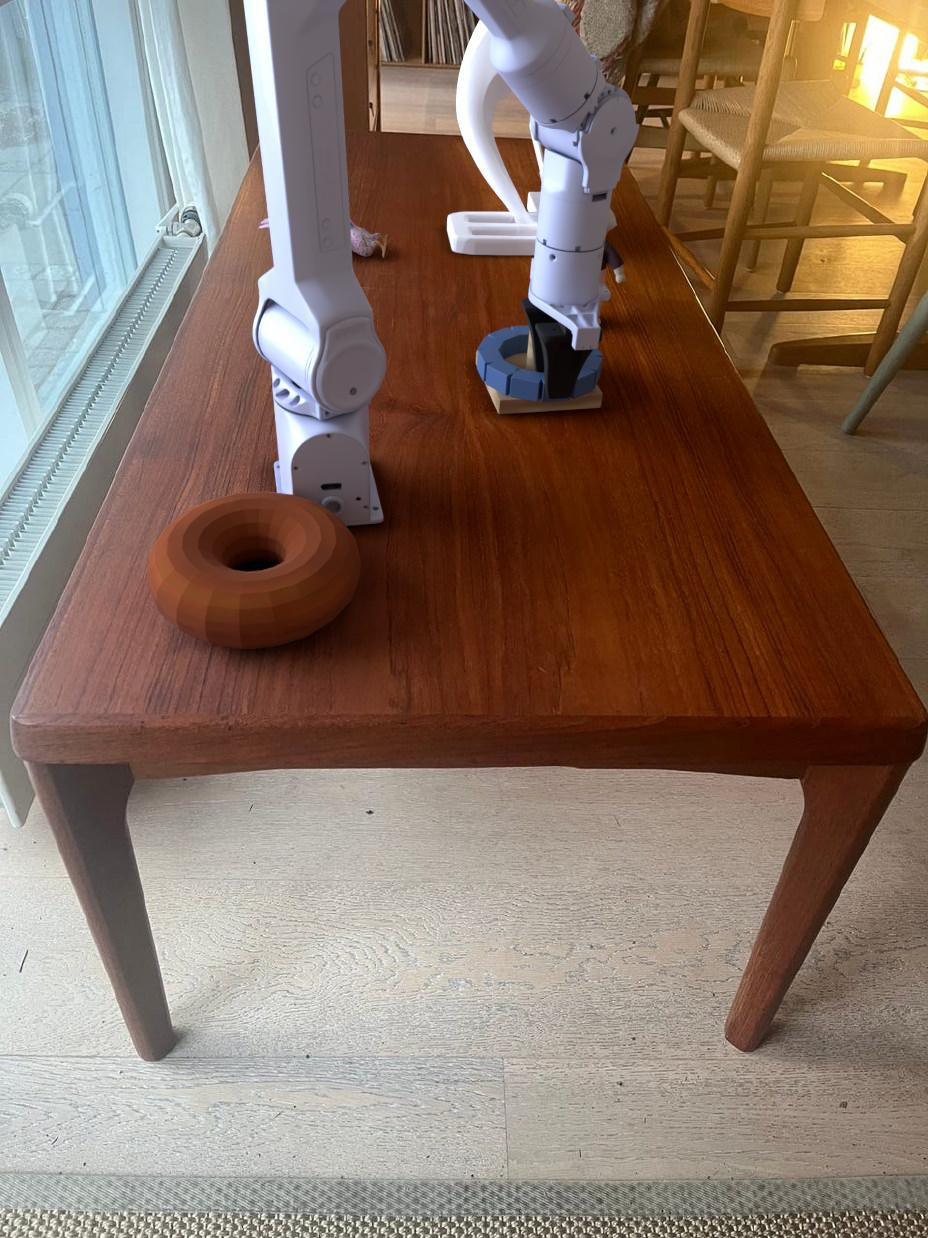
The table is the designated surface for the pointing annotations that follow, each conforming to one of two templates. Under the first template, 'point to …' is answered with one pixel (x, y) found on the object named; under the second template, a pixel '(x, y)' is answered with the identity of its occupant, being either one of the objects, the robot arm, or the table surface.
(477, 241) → the jewelry stand
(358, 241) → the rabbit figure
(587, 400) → the stand
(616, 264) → the grandmother figurine
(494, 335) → the ring
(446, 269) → the table surface
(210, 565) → the donut
